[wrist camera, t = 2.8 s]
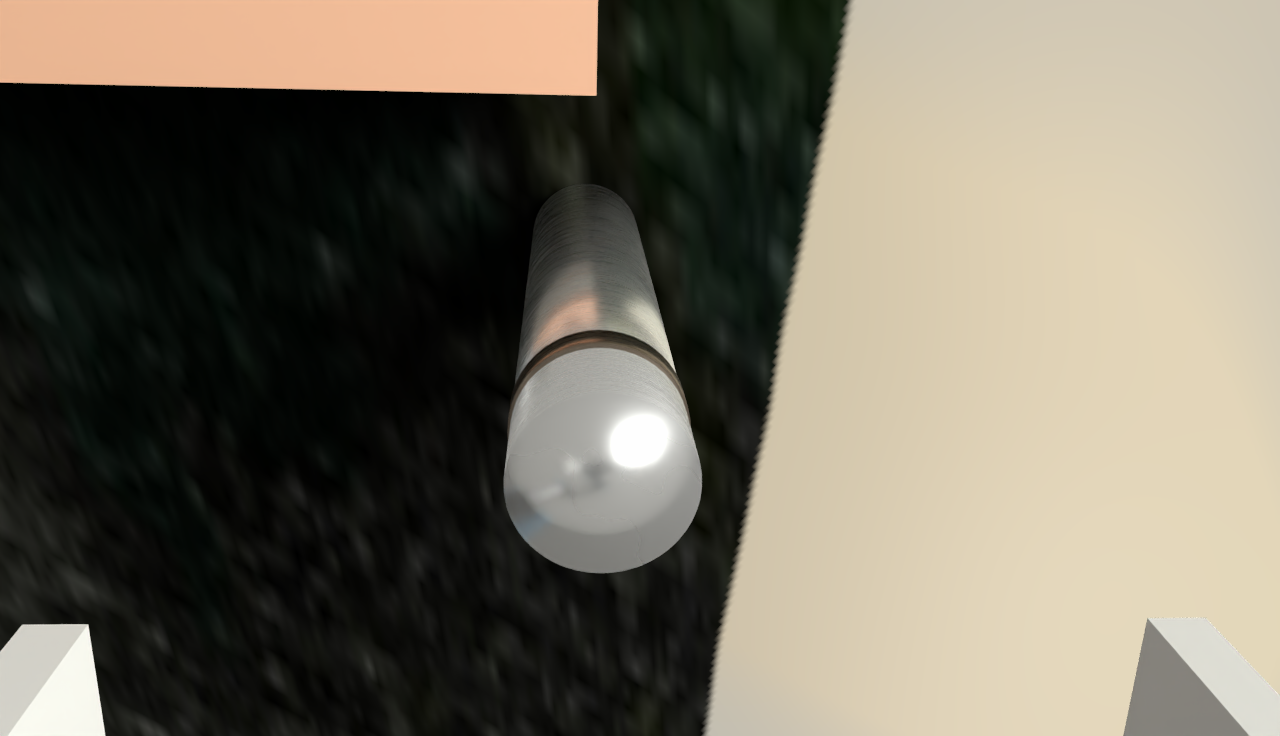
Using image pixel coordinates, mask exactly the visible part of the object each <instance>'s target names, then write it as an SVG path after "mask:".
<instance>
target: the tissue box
mask: <svg viewBox="0 0 1280 736" xmlns="http://www.w3.org/2000/svg"><path fill="white" fill-rule="evenodd" d="M597 22H598V0H0V82H1V83H47V84H92V85H138V86H183V87H228V88H274V89H319V90H364V91H410V92H455V93H501V94H546V95H591V96H596V88H597Z"/></svg>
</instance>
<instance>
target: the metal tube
mask: <svg viewBox="0 0 1280 736" xmlns="http://www.w3.org/2000/svg"><path fill="white" fill-rule="evenodd" d="M701 489H702V473H701V467H700V461H699V457H698V454H697V450H696V446H695V442H694V439H693V435H692V431H691V426H690V416H689V410H688V407H687V403H686V399H685V396H684V392H683V389H682V386H681V383H680V381H679V378H678V376H677V374H676V371H675V367H674V364H673V360H672V356H671V352H670V349H669V345H668V341H667V337H666V334H665V330H664V326H663V322H662V319H661V315H660V311H659V307H658V304H657V300H656V296H655V292H654V289H653V285H652V281H651V277H650V273H649V270H648V266H647V262H646V258H645V255H644V251H643V247H642V243H641V240H640V236H639V232H638V228H637V225H636V221H635V218H634V216H633V213H632V211H631V210H630V208H629V206H628V205H627V204H626V202H625V201H624V200H623V199H622V198H621V197H620V196H618V195H617V194H616V193H614V192H613V191H611V190H609V189H607V188H605V187H602V186H599V185H594V184H577V185H572V186H569V187H566V188H563V189H561V190H559V191H558V192H556V193H555V194H553V195H552V196H551V197H550V198H549V199H548V200H547V201H546V202H545V203H544V204H543V206H542V207H541V209H540V210H539V212H538V214H537V217H536V220H535V223H534V228H533V237H532V245H531V254H530V262H529V271H528V279H527V287H526V296H525V304H524V313H523V321H522V330H521V338H520V346H519V355H518V363H517V372H516V380H515V387H514V389H513V392H512V397H511V402H510V410H509V418H508V448H507V456H506V464H505V473H504V495H505V501H506V505H507V509H508V512H509V514H510V517H511V520H512V521H513V523H514V525H515V527H516V529H517V530H518V532H519V533H520V534H521V536H522V537H523V538H524V540H525V541H526V542H527V543H528V544H529V545H530V546H531V547H532V548H533V549H535V550H536V551H537V552H539V553H540V554H541V555H543V556H544V557H546V558H548V559H549V560H551V561H553V562H555V563H557V564H559V565H562V566H564V567H567V568H570V569H574V570H578V571H583V572H590V573H611V572H619V571H624V570H629V569H632V568H635V567H638V566H641V565H643V564H645V563H648V562H650V561H652V560H653V559H655V558H657V557H659V556H660V555H662V554H663V553H664V552H666V551H667V550H668V549H670V548H671V547H672V546H673V545H674V544H675V543H676V542H677V541H678V540H679V539H680V538H681V536H682V535H683V534H684V533H685V531H686V530H687V528H688V527H689V525H690V523H691V522H692V520H693V518H694V516H695V513H696V511H697V508H698V505H699V501H700V497H701Z"/></svg>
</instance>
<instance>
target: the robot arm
mask: <svg viewBox="0 0 1280 736" xmlns="http://www.w3.org/2000/svg"><path fill="white" fill-rule="evenodd" d="M0 736H105V731H104V724H103V718H102V711H101V705H100V698H99V692H98V685H97V679H96V672H95V666H94V660H93V653H92V647H91V640H90V634H89V627H88V624H57V625H22V626H21V627H20V628H19V629H18V631H17V632H16V633H15V634H14V636H13V637H12V638H11V639H10V640H9V642H8V643H7V644H6V645H5V647H4V648H3V649H2V650H1V651H0ZM1124 736H1280V695H1279V694H1278V693H1277V692H1276V691H1275V690H1274V689H1273V688H1272V687H1271V686H1270V685H1269V684H1268V683H1267V682H1266V680H1265V679H1264V678H1263V677H1262V676H1261V675H1260V674H1259V673H1258V672H1257V671H1256V670H1255V669H1254V668H1253V667H1252V666H1251V665H1250V664H1249V663H1248V662H1247V661H1246V660H1245V658H1244V657H1243V656H1242V655H1241V654H1240V653H1239V652H1238V651H1237V650H1236V649H1235V648H1234V647H1233V646H1232V645H1231V644H1230V643H1229V642H1228V641H1227V640H1226V639H1225V638H1224V636H1223V635H1222V634H1221V633H1220V632H1219V631H1218V630H1217V629H1216V628H1215V627H1214V626H1213V625H1212V624H1211V623H1210V622H1209V621H1208V620H1207V619H1206V618H1147V623H1146V628H1145V633H1144V638H1143V643H1142V647H1141V653H1140V657H1139V662H1138V667H1137V672H1136V677H1135V682H1134V687H1133V692H1132V697H1131V702H1130V707H1129V711H1128V716H1127V721H1126V726H1125V731H1124Z"/></svg>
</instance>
